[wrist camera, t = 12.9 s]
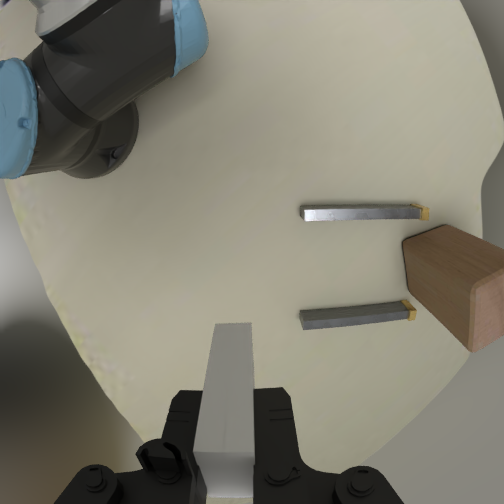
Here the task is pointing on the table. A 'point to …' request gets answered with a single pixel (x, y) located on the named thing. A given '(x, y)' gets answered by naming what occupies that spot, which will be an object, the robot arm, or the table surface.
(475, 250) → the wooden block
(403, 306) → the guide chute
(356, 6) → the table surface
